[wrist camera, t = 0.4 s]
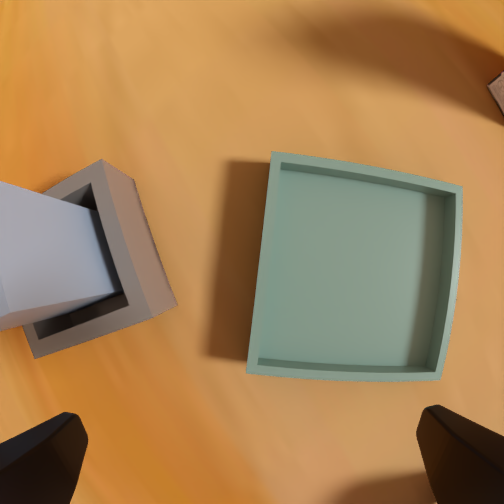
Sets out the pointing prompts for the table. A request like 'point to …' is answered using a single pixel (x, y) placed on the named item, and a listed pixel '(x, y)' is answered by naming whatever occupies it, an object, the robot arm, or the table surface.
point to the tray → (355, 273)
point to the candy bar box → (498, 90)
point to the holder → (124, 256)
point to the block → (50, 258)
